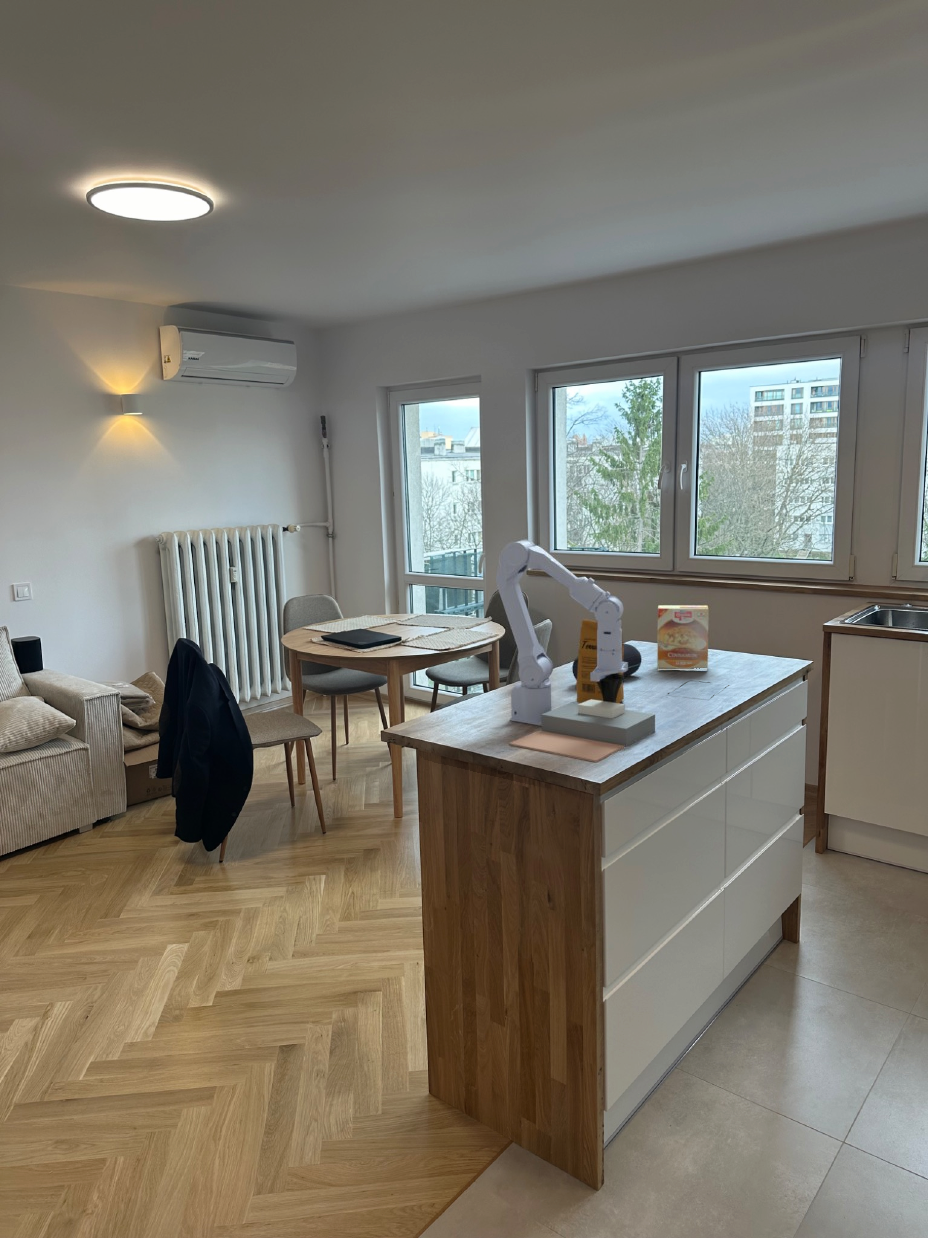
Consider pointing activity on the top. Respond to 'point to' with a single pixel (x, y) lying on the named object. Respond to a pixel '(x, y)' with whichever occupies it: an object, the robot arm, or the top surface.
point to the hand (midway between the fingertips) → (609, 705)
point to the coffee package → (590, 664)
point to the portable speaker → (629, 656)
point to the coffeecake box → (682, 637)
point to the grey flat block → (598, 725)
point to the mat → (567, 746)
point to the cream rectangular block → (601, 708)
